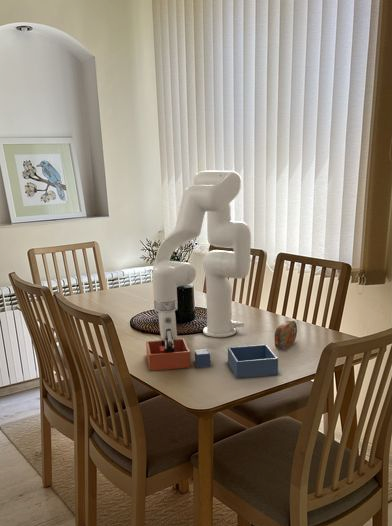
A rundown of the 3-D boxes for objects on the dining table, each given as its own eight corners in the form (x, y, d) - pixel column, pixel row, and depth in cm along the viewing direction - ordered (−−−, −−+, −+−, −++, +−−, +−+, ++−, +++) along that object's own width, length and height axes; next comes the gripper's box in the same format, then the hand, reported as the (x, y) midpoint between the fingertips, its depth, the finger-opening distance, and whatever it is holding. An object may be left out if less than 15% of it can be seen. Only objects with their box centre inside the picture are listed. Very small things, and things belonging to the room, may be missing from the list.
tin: (280, 353, 189) (281, 330, 186) (272, 351, 191) (272, 328, 188) (297, 340, 201) (298, 318, 198) (289, 338, 203) (290, 317, 200)
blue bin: (266, 359, 184) (266, 344, 182) (277, 374, 172) (278, 358, 170) (227, 362, 182) (227, 347, 180) (236, 378, 170) (236, 361, 168)
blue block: (208, 361, 184) (207, 348, 182) (210, 366, 180) (210, 353, 178) (194, 362, 183) (194, 349, 182) (197, 367, 179) (196, 354, 177)
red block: (173, 357, 187) (172, 345, 185) (175, 362, 182) (174, 349, 181) (160, 358, 186) (159, 346, 184) (161, 363, 182) (160, 350, 180)
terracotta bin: (184, 353, 191) (184, 338, 190) (190, 367, 179) (189, 351, 177) (146, 356, 190) (146, 341, 188) (150, 370, 177) (149, 354, 175)
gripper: (180, 311, 170) (183, 363, 176) (173, 296, 186) (176, 345, 192) (156, 313, 169) (159, 366, 175) (151, 298, 185) (154, 347, 191)
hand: (168, 354), depth 184 cm, fingers open, 7 cm apart
